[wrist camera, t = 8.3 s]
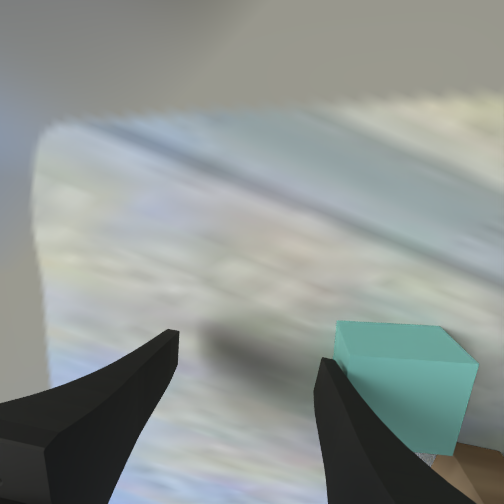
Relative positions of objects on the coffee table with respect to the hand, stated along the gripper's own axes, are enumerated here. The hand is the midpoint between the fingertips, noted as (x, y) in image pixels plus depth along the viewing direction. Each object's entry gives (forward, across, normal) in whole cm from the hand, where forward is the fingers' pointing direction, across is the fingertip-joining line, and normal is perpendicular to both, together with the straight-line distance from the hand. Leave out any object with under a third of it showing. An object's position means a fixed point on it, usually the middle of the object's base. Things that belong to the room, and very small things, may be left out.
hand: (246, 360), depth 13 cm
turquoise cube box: (+2, -7, 0) cm, 7 cm away
